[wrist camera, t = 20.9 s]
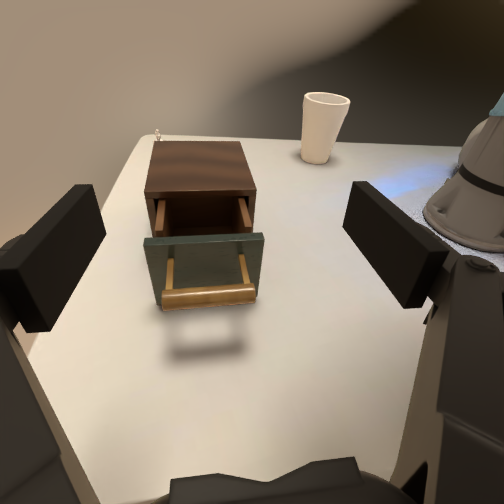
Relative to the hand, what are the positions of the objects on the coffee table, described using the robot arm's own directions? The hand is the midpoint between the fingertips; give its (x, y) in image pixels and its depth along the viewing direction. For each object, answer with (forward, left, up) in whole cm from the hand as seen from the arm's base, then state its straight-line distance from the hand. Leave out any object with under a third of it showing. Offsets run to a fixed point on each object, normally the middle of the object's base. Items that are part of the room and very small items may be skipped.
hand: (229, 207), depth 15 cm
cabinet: (+20, -15, -20) cm, 32 cm away
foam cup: (+22, -52, -20) cm, 60 cm away
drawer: (+11, -7, -19) cm, 23 cm away
